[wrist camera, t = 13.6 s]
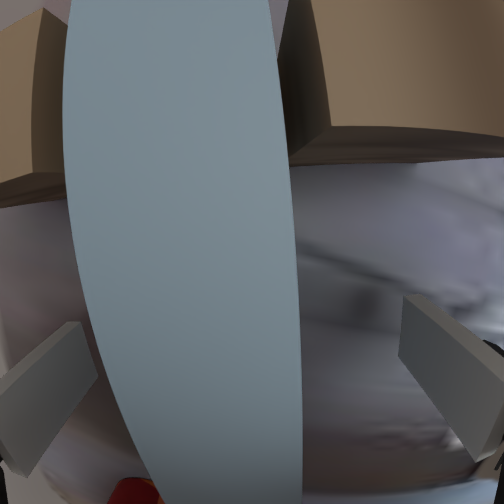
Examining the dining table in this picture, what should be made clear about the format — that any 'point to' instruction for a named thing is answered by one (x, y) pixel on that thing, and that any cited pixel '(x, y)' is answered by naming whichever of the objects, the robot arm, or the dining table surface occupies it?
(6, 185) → the notched walnut block
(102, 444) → the dining table surface
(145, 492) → the paper cup
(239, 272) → the slate board
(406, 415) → the dining table surface
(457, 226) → the dining table surface
